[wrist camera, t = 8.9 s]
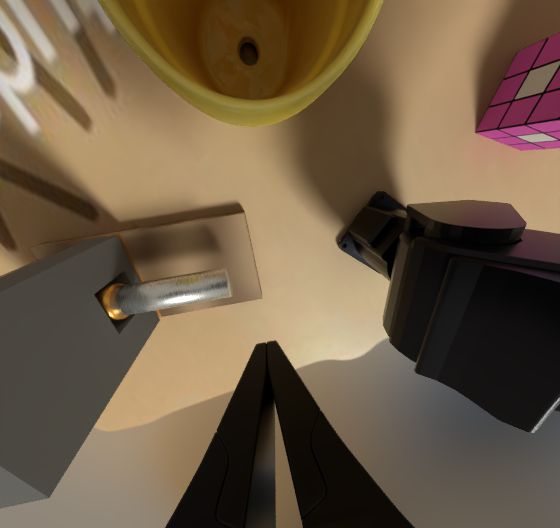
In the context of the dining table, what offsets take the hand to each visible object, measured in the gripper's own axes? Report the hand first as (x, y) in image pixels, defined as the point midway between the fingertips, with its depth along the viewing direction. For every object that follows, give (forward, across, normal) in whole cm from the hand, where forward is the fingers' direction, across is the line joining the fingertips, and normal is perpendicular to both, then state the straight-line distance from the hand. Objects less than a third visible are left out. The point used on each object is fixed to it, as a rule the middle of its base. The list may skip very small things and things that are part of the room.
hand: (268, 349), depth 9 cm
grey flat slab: (+12, +12, +1) cm, 17 cm away
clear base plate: (+13, +10, +1) cm, 16 cm away
